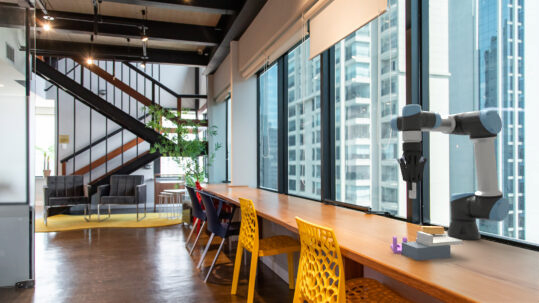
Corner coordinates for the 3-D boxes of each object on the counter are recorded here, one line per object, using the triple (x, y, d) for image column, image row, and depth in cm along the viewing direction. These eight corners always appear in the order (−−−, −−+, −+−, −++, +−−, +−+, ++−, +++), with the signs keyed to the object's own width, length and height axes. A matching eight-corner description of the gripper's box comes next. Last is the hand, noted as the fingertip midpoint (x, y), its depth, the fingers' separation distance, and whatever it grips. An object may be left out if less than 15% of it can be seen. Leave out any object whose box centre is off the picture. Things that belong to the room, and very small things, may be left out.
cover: (446, 239, 156) (446, 229, 156) (462, 244, 147) (462, 233, 147) (415, 241, 152) (415, 231, 152) (430, 246, 143) (430, 235, 143)
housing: (433, 247, 163) (433, 236, 163) (462, 256, 146) (462, 244, 146) (392, 250, 157) (391, 238, 157) (417, 260, 141) (417, 248, 141)
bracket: (407, 254, 151) (407, 238, 151) (393, 253, 152) (393, 237, 152) (402, 246, 164) (402, 232, 164) (390, 246, 165) (389, 231, 165)
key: (421, 246, 161) (421, 226, 161) (447, 247, 159) (446, 226, 159) (423, 247, 158) (422, 227, 159) (449, 248, 157) (448, 227, 157)
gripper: (419, 142, 152) (419, 196, 152) (392, 142, 149) (393, 197, 149) (431, 141, 145) (432, 198, 145) (403, 141, 142) (404, 199, 141)
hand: (412, 198), depth 147 cm, fingers closed
